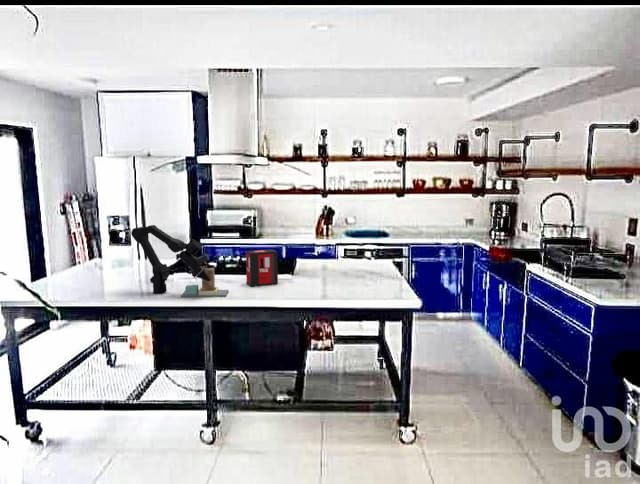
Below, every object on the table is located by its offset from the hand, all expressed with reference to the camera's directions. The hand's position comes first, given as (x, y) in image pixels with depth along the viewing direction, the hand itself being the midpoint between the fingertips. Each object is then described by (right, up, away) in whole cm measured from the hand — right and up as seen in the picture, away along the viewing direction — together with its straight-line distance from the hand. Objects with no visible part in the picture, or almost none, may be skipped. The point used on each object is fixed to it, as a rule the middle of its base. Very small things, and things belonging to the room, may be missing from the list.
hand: (210, 279), depth 281 cm
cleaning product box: (+25, -5, +26) cm, 36 cm away
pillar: (-1, -7, +1) cm, 7 cm away
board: (-3, -8, +1) cm, 9 cm away
